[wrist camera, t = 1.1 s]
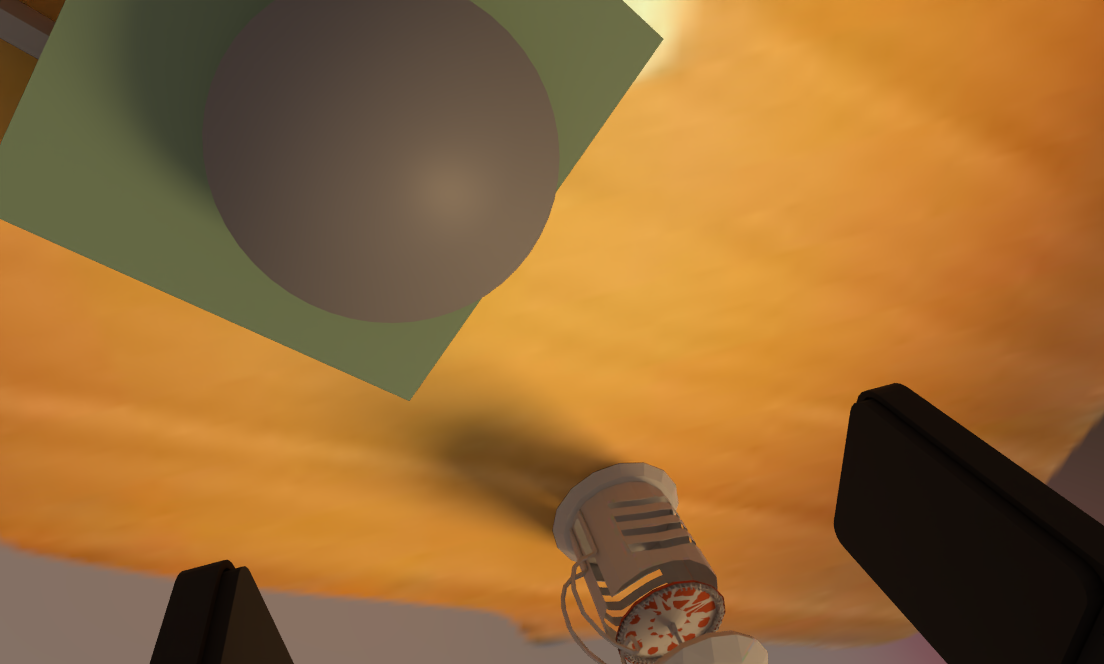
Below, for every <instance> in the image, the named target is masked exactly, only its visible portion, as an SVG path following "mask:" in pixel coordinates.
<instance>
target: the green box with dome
mask: <svg viewBox="0 0 1104 664" xmlns="http://www.w3.org/2000/svg"><path fill="white" fill-rule="evenodd" d="M0 38H1V39H3V40H4V41H6V42H8V43H10V44H12V45H13V46H15V47H17V48H19V49H21V50H22V51H24V52H26V53H28V54H30V55H31V56H33V57H35V58H37V59H39V60H38V62H37V64H36V67H35V69H34V71H33V73H32V75H31V78H30V80H29V82H28V84H27V86H26V89H25V91H24V93H23V95H22V98H21V100H20V102H19V104H18V106H17V109H16V111H15V113H14V115H13V117H12V120H11V122H10V124H9V126H8V128H7V131H6V133H5V135H4V137H3V139H2V142H1V144H0V219H2V220H4V221H6V222H8V223H10V224H13V225H15V226H17V227H19V228H22V229H24V230H26V231H28V232H31V233H33V234H35V235H37V236H40V237H42V238H44V239H46V240H49V241H51V242H53V243H55V244H58V245H60V246H62V247H64V248H67V249H69V250H71V251H73V252H76V253H78V254H80V255H82V256H85V257H87V258H89V259H91V260H94V261H96V262H98V263H100V264H103V265H105V266H107V267H109V268H112V269H114V270H116V271H118V272H121V273H123V274H125V275H127V276H130V277H132V278H134V279H136V280H138V281H141V282H143V283H145V284H147V285H150V286H152V287H154V288H156V289H159V290H161V291H163V292H165V293H168V294H170V295H172V296H174V297H177V298H179V299H181V300H183V301H186V302H188V303H190V304H192V305H195V306H197V307H199V308H201V309H204V310H206V311H208V312H210V313H213V314H215V315H217V316H219V317H222V318H224V319H226V320H228V321H231V322H233V323H235V324H237V325H240V326H242V327H244V328H246V329H249V330H251V331H253V332H255V333H258V334H260V335H262V336H264V337H267V338H269V339H271V340H273V341H275V342H278V343H280V344H282V345H284V346H287V347H289V348H291V349H293V350H296V351H298V352H300V353H302V354H305V355H307V356H309V357H311V358H314V359H316V360H318V361H320V362H323V363H325V364H327V365H329V366H332V367H334V368H336V369H338V370H341V371H343V372H345V373H347V374H350V375H352V376H354V377H356V378H359V379H361V380H363V381H365V382H368V383H370V384H372V385H374V386H377V387H379V388H381V389H383V390H386V391H388V392H390V393H392V394H395V395H397V396H399V397H401V398H403V399H406V400H408V401H410V400H411V398H412V397H413V395H414V394H415V392H416V391H417V390H418V388H419V387H420V385H421V384H422V382H423V381H424V380H425V378H426V377H427V375H428V374H429V373H430V371H431V370H432V368H433V367H434V365H435V364H436V363H437V361H438V360H439V358H440V357H441V355H442V354H443V353H444V351H445V350H446V348H447V347H448V345H449V344H450V343H451V341H452V340H453V338H454V337H455V335H456V334H457V333H458V331H459V330H460V328H461V327H462V325H463V324H464V323H465V321H466V320H467V318H468V317H469V316H470V314H471V313H472V311H473V310H474V308H475V307H476V306H477V304H478V303H479V301H480V300H481V298H482V297H484V296H485V295H487V294H488V293H490V292H491V291H492V290H494V289H495V288H496V287H498V286H499V285H500V284H502V283H503V282H504V281H505V280H506V279H507V278H508V277H509V276H510V275H511V274H512V273H513V272H514V271H515V270H516V269H517V268H518V267H519V266H520V264H521V263H522V262H523V261H524V260H525V258H526V257H527V256H528V255H529V253H530V252H531V250H532V248H533V247H534V245H535V244H536V242H537V240H538V239H539V237H540V235H541V233H542V231H543V229H544V227H545V224H546V222H547V220H548V218H549V215H550V211H551V208H552V205H553V202H554V199H555V193H556V192H557V190H558V189H559V187H560V186H561V184H562V183H563V182H564V180H565V179H566V177H567V176H568V174H569V173H570V172H571V170H572V169H573V167H574V166H575V164H576V163H577V162H578V160H579V159H580V157H581V156H582V154H583V153H584V152H585V150H586V149H587V147H588V146H589V145H590V143H591V142H592V140H593V139H594V137H595V136H596V135H597V133H598V132H599V130H600V129H601V127H602V126H603V125H604V123H605V122H606V120H607V119H608V117H609V116H610V115H611V113H612V112H613V110H614V109H615V107H616V106H617V105H618V103H619V102H620V100H621V99H622V97H623V96H624V95H625V93H626V92H627V90H628V89H629V88H630V86H631V85H632V83H633V82H634V80H635V79H636V78H637V76H638V75H639V73H640V72H641V70H642V69H643V68H644V66H645V65H646V63H647V62H648V60H649V59H650V58H651V56H652V55H653V53H654V52H655V50H656V49H657V48H658V46H659V45H660V43H661V42H662V40H663V38H662V37H661V36H660V35H659V34H658V33H657V32H656V31H655V30H653V29H652V28H651V27H650V26H649V25H648V24H647V23H646V22H645V21H644V20H643V19H642V18H641V17H640V16H639V15H637V14H636V13H635V12H634V11H633V10H632V9H631V8H630V7H629V6H628V5H627V4H626V3H625V2H624V1H623V0H66V1H65V3H64V5H63V7H62V9H61V12H60V14H59V16H58V18H57V20H56V22H54V21H52V20H51V19H49V18H47V17H46V16H44V15H42V14H40V13H39V12H37V11H35V10H34V9H32V8H30V7H29V6H27V5H25V4H23V3H22V2H20V1H18V0H0Z"/></svg>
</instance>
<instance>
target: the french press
mask: <svg viewBox="0 0 1104 664" xmlns="http://www.w3.org/2000/svg"><path fill="white" fill-rule="evenodd" d="M677 506H678V497H677V490H676V485H675V483H674V482H673V481H672V480H671V479H670V478H669V476H668V475H667V474H666V473H665V472H664V470H661V469H658V468H656V467H653V466H651V465H648V464H645V463H620V464H616V465H613V466H611V467H608V468H605V469H602V470H599V471H597V472H594V473H592V474H591V475H590V476H588V477H587V478H585V479H584V480H583V481H581V482H580V483H579V484H577V485H576V486H575V487H573V488H572V489H571V490H570V492H569V493H568V494H567V496H566V497H565V499H564V500H563V501H562V503H561V504H560V506H559V507H558V509H557V512H556V516H555V521H554V525H553V534H554V537H555V540H556V544H557V547H558V549H560V550H561V551H562V552H563V553H564V554H565V555H566V556H567V557H569V558H570V559H571V560H572V561H576V563H575V564H574V565H573V567H572V573H571V577H570V578H569V580H568V581H567V582H566V583H565V584H564V585H563V589H562V594H561V609H562V612H563V615H564V619H565V622H566V626H567V628H568V630H569V632H570V634H571V635H572V637H573V639H574V641H575V642H576V643H577V644H578V645H579V646H580V647H581V648H582V650H583V651H584V652H585V653H586V654H587V655H588V656H589V657H590V658H592V659H593V660H594V661H595V662H597V663H598V664H606V663H604V662H603V661H602V660H601V659H599V658H598V657H597V656H596V655H594V654H593V653H592V652H591V651H589V649H587V647H586V646H585V645H584V643H583V642H582V641H581V640H580V639H579V637H578V636H577V635H576V633H575V632H574V631H573V629H572V627H571V624H570V621H569V617H568V614H567V611H566V605H565V596H566V590H567V587H568V586H569V585H570V584H571V587H572V592H573V594H574V597H575V599H576V602H577V604H578V606H579V609H580V611H581V614H582V615H583V616H584V617H585V619H586V620H587V621H588V622H589V623H590V624H591V625H592V626H593V627H594V629H595V630H596V631H597V632H598V633H599V634H600V635H601V636H602V637H603V638H604V639H606V640H607V641H608V642H610V643H611V644H612V645H613V646H615V647H617V648H618V651H619V654H620V657H621V662H622V664H627V663H626V660H628V661H629V662H630V663H633V664H768V652H767V651H766V650H765V648H764V647H763V646H762V645H761V644H760V643H759V642H758V640H757V639H755V638H753V637H751V636H750V635H746V634H742V633H739V632H735V631H722V632H716V631H717V630H718V629H719V627H720V624H721V623H722V619H723V616H724V614H725V604H724V597H723V596H722V595H721V594H720V593H719V592H718V591H717V578H716V575H715V573H714V572H713V570H712V568H711V567H710V565H709V563H708V562H707V560H706V559H705V557H704V555H703V554H702V552H701V550H700V549H699V548H698V547H697V546H696V543H695V541H694V539H693V538H692V536H691V535H690V534H689V533H688V532H687V528H686V526H685V525H684V523H683V522H682V521H681V520H680V517H679V515H678V513H677V512H676V509H677ZM675 513H676V515H675ZM681 524H682V525H683V527H684V529H682V528H681ZM689 537H690V538H691V539H692V543H690V541H689ZM579 565H580V568H581V570H582V572H580V573H578V574H576V569H577V567H578V566H579ZM658 569H660V570H661V572H662V574H663V575H661V576H659V577H657V578H655V579H653V580H651V581H649V582H648V583H646V584H644V585H643V586H641V587H639V588H638V589H636V590H635V591H633V592H632V593H631V594H629V595H628V596H626V597H625V598H624V599H622V600H621V601H618V602H605V601H604V598H603V596H602V595H610V596H611V597H613V596H615V595H617V594H618V593H620V592H621V591H623V590H624V589H626V588H627V587H629V586H630V585H632V584H633V583H635V582H637V581H638V580H640V579H641V578H643V577H644V576H646V575H648V574H650V573H652V572H654V571H656V570H658ZM583 576H584V578H585V581H586V583H587V586H588V588H589V591H590V593H591V596H592V599H593V601H594V604H595V606H596V609H597V611H598V614H599V617H600V619H601V622H602V624H603V627H604V629H605V632H606V633H604V632H603V631H602V630H601V629H600V628H599V627H598V626H597V625H596V624H595V623H594V621H593V620H592V619H591V618H590V617H589V616H588V615H587V614H586V612H585V610H584V608H583V605H582V603H581V600H580V598H579V595H578V593H577V590H576V584H575V580H576V579H578V578H581V577H583ZM597 581H601V582H605V583H606V585H607V587H608V588H602V587H599V586H598V584H597ZM665 583H668V584H666V585H664V586H661V587H659V588H656V587H658V586H660V585H662V584H665ZM654 588H656V589H654ZM652 589H654V590H652ZM651 590H652V591H651ZM649 591H650V592H649ZM647 592H649V593H648V594H646V593H647ZM644 594H646V595H645V596H643V595H644ZM641 596H643V597H642V598H641V599H639V600H638V601H636V602H635V603H634V604H633V605H632V606H631V608H630V609H629V610H628V611H627V613H626V614H625V615H624V616H623V617H611V616H610V615H609V614H607V613H606V609H608V610H622V609H624V608H625V607H627V606H629V605H630V604H631V603H633V602H634V601H635V600H637V599H638V598H639V597H641ZM604 618H605V619H607V620H608V621H610V622H611V623H612V624H614V625H615V626H619V628H618V631H617V632H616V631H614V630H613V629H612V628H610V627H609V626H608V625H607V624H606V623H605V622H604ZM625 659H626V660H625Z"/></svg>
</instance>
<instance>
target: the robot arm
mask: <svg viewBox="0 0 1104 664" xmlns="http://www.w3.org/2000/svg"><path fill="white" fill-rule="evenodd" d="M834 529H835V533H836V535H837V538H838V539H839V541H840V543H841V544H842V545H843V547H844V548H845V549H846V550H847V551H848V552H849V553H850V555H851V556H852V557H853V558H854V559H855V560H856V561H857V562H858V564H859V565H860V566H861V567H862V568H863V569H864V570H865V571H866V573H867V574H868V575H869V576H870V577H871V578H872V579H873V580H874V582H875V583H876V584H877V585H878V586H879V587H880V588H881V589H882V591H883V592H884V593H885V594H886V595H887V596H888V597H889V598H890V600H891V601H892V602H893V603H894V604H895V605H896V606H897V607H898V609H899V610H900V611H901V612H902V613H903V614H904V615H905V616H906V618H907V619H908V620H909V621H910V622H911V623H912V624H913V625H914V627H915V628H916V629H917V630H918V631H919V632H920V633H921V634H922V636H923V637H924V638H925V639H926V640H927V641H928V642H929V643H930V645H931V646H932V647H933V648H934V649H935V650H936V651H937V652H938V653H939V655H940V656H941V657H942V658H943V659H944V660H945V661H946V663H948V664H1104V526H1103V525H1102V524H1101V523H1099V522H1098V521H1096V520H1095V519H1093V518H1092V517H1091V516H1089V515H1088V514H1086V513H1085V512H1083V511H1082V510H1081V509H1079V508H1078V507H1076V506H1075V505H1074V504H1072V503H1071V502H1069V501H1068V500H1067V499H1065V498H1064V497H1062V496H1061V495H1059V494H1058V493H1057V492H1055V491H1054V490H1052V489H1051V488H1049V487H1048V486H1047V485H1045V484H1044V483H1042V482H1041V481H1040V480H1038V479H1037V478H1035V477H1034V476H1033V475H1031V474H1030V473H1028V472H1027V471H1025V470H1024V469H1023V468H1021V467H1020V466H1018V465H1017V464H1015V463H1014V462H1013V461H1011V460H1010V459H1008V458H1007V457H1006V456H1004V455H1003V454H1001V453H1000V452H998V451H997V450H996V449H994V448H993V447H991V446H990V445H989V444H987V443H986V442H984V441H983V440H981V439H980V438H979V437H977V436H976V435H974V434H973V433H972V432H970V431H969V430H967V429H966V428H964V427H963V426H962V425H960V424H959V423H957V422H956V421H955V420H953V419H952V418H950V417H949V416H947V415H946V414H945V413H943V412H942V411H940V410H939V409H937V408H936V407H935V406H933V405H932V404H930V403H929V402H928V401H926V400H925V399H923V398H922V397H920V396H919V395H918V394H916V393H915V392H913V391H912V390H911V389H909V388H908V387H906V386H904V385H902V384H898V383H893V384H890V385H886V386H882V387H878V388H874V389H871V390H867V391H864V392H862V393H861V394H860V395H859V396H858V399H857V403H854V405H853V406H852V408H851V411H850V417H849V424H848V431H847V437H846V444H845V451H844V457H843V464H842V471H841V477H840V484H839V490H838V497H837V504H836V510H835V517H834ZM150 664H294V663H293V661H292V659H291V657H290V655H289V653H288V650H287V648H286V646H285V644H284V642H283V640H282V638H281V636H280V634H279V632H278V629H277V628H276V625H275V623H274V621H273V619H272V617H271V615H270V613H269V611H268V609H267V606H266V604H265V602H264V600H263V598H262V596H261V594H260V592H259V590H258V587H257V585H256V583H255V581H254V579H253V577H252V575H251V573H250V571H249V569H248V568H247V567H245V566H244V567H239V568H236V569H235V567H234V566H233V564H232V563H231V562H230V561H229V560H223V561H219V562H215V563H212V564H208V565H204V566H200V567H197V568H193V569H189V570H185V571H182V572H181V573H180V574H179V575H178V576H177V579H176V581H175V584H174V587H173V590H172V593H171V596H170V600H169V603H168V606H167V609H166V613H165V616H164V619H163V623H162V626H161V629H160V632H159V635H158V638H157V642H156V645H155V648H154V651H153V655H152V658H151V661H150Z"/></svg>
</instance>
